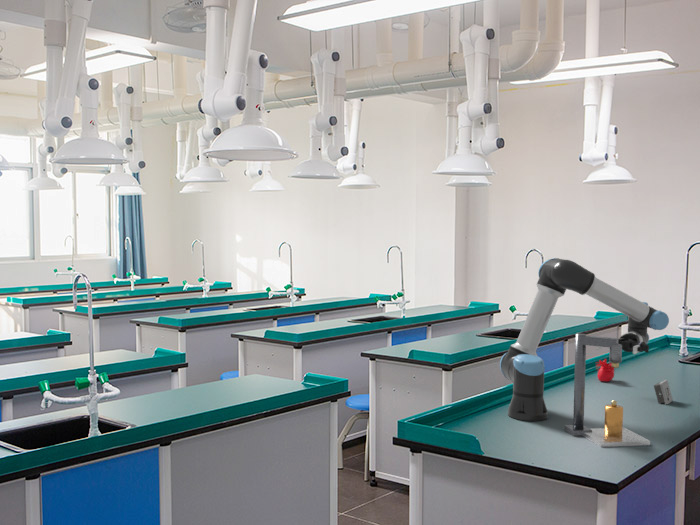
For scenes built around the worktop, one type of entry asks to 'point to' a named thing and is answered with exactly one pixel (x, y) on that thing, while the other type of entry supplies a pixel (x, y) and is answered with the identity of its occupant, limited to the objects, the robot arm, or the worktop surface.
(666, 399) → the electrical switch
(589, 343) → the arbor press
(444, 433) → the worktop surface
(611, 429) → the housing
